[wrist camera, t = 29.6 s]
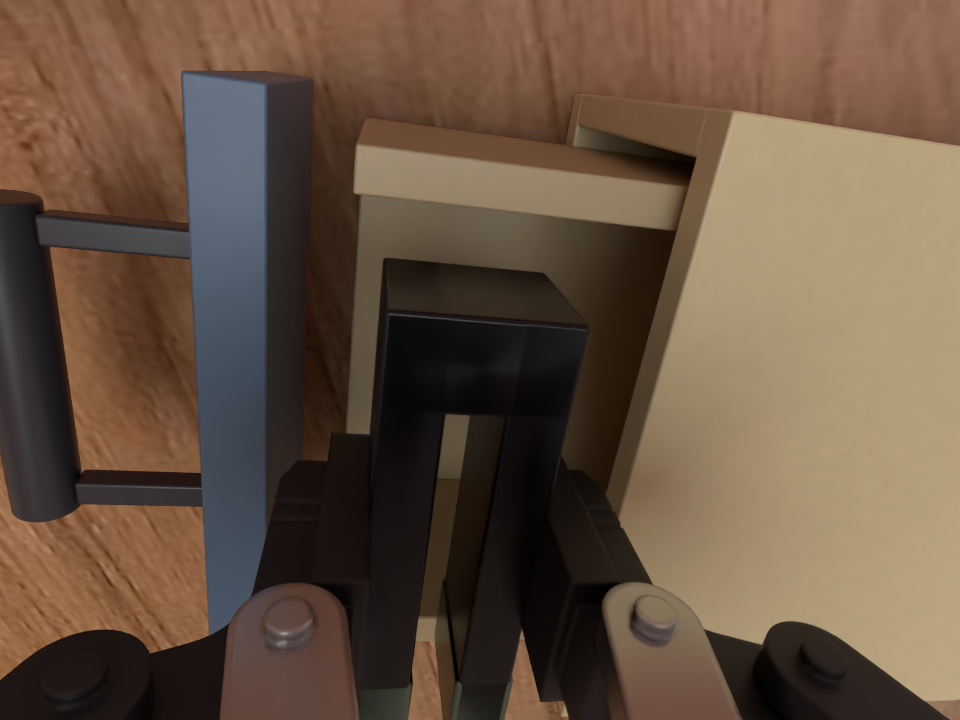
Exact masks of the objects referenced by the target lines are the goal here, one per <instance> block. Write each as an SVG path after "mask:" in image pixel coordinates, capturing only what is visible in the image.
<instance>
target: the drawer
mask: <svg viewBox="0 0 960 720" xmlns="http://www.w3.org/2000/svg"><path fill="white" fill-rule="evenodd" d="M181 83H182V103H183V122H184V142H185V162H186V182H187V202H188V222H189V224H188V223H179V222H169V221H159V220H149V219H139V218H130V217H120V216H110V215H100V214H90V213H80V212H71V211H61V210H51V209H50V210H47V211H44V204H43V200H42V198H41V197H40V196H38V195H36V194H32V193H28V192H23V191H16V190H4V189H0V457H1V462H2V467H3V472H4V477H5V481H6V486H7V491H8V496H9V501H10V506H11V511H12V513H13V515H14V516H15V517H17V518H18V519H20V520H23V521H27V522H45V521H51V520H55V519H58V518H61V517H64V516H66V515H68V514H70V513H72V512H73V511H75V510H76V509H77V508H78V507H79V506H80V505H81V504H100V505H147V506H194V507H203V521H204V541H205V561H206V581H207V601H208V621H209V635H211V634H213V633H215V632H217V631H218V630H220V629H222V628H223V627H225V626H226V625H227V624H229V623H230V621H231V619H232V617H233V615H234V614H235V612H236V611H237V609H238V608H239V607H240V606H241V605H242V604H243V603H244V602H245V601H246V600H248V599H249V598H250V597H251V594H252V591H253V588H254V583H255V579H256V575H257V571H258V567H259V563H260V559H261V555H262V551H263V547H264V543H265V538H266V534H267V530H268V526H269V522H270V520H271V514H272V510H273V506H274V503H275V498H276V494H277V489H278V485H279V481H280V478H281V477H282V476H283V475H284V474H285V473H286V472H287V470H288V469H289V468H290V467H291V466H292V465H293V464H294V463H295V462H296V461H297V460H302V452H303V416H304V381H305V346H306V311H307V275H308V240H309V205H310V170H311V134H312V99H313V79H312V78H307V77H301V76H294V75H287V74H281V73H274V72H267V71H182V73H181ZM694 166H695V163H690V162H683V161H676V160H669V159H662V158H654V157H647V156H640V155H633V154H626V153H619V152H611V151H604V150H597V149H590V148H583V147H575V146H568V145H561V144H554V143H547V142H540V141H532V140H525V139H518V138H511V137H504V136H496V135H489V134H482V133H475V132H468V131H461V130H453V129H446V128H439V127H432V126H425V125H417V124H410V123H403V122H396V121H389V120H382V119H374V118H366V119H365V121H364V123H363V126H362V129H361V132H360V135H359V137H358V140H357V143H356V146H355V163H354V180H353V192H354V194H357V195H360V198H359V214H358V231H357V247H356V264H355V281H354V297H353V314H352V330H351V347H350V364H349V380H348V397H347V413H346V430H345V433H353V434H369V433H370V420H371V408H372V395H373V382H374V369H375V356H376V343H377V330H378V318H379V305H380V292H381V279H382V266H383V260H384V258H397V259H408V260H418V261H429V262H438V263H448V264H458V265H469V266H479V267H490V268H501V269H512V270H522V271H532V272H543V273H545V274H546V275H547V276H548V277H549V279H550V280H551V281H552V282H553V283H554V285H555V286H556V287H557V288H558V289H559V291H560V292H561V293H562V294H563V295H564V297H565V298H566V299H567V300H568V301H569V303H570V304H571V305H572V306H573V307H574V309H575V310H576V311H577V312H578V313H579V315H580V316H581V317H582V318H583V319H584V321H585V322H586V323H587V324H588V325H589V329H590V330H589V335H588V339H587V343H586V348H585V352H584V357H583V361H582V366H581V370H580V374H579V379H578V383H577V388H576V392H575V397H574V401H573V405H572V410H571V414H570V419H569V423H568V428H567V432H566V436H565V441H564V445H563V450H562V454H561V455H562V457H563V459H564V461H565V463H566V465H567V468H568V470H582V471H583V472H585V473H586V474H587V475H588V476H589V477H590V478H591V479H592V480H594V481H595V482H596V483H597V484H598V485H599V486H600V487H602V489H603V491H604V493H605V495H606V492H607V489H608V485H609V481H610V477H611V474H612V470H613V466H614V463H615V459H616V455H617V452H618V448H619V444H620V440H621V437H622V433H623V429H624V426H625V422H626V418H627V414H628V411H629V407H630V403H631V400H632V396H633V392H634V389H635V385H636V381H637V377H638V374H639V370H640V366H641V363H642V359H643V355H644V351H645V348H646V344H647V340H648V337H649V333H650V329H651V326H652V322H653V318H654V314H655V311H656V307H657V303H658V300H659V296H660V292H661V288H662V285H663V281H664V277H665V274H666V270H667V266H668V263H669V259H670V255H671V251H672V248H673V244H674V240H675V237H676V233H677V229H678V225H679V222H680V218H681V214H682V211H683V207H684V203H685V200H686V196H687V192H688V188H689V185H690V181H691V177H692V174H693V170H694ZM50 247H60V248H71V249H82V250H93V251H104V252H115V253H125V254H136V255H147V256H158V257H169V258H180V259H190V262H191V282H192V302H193V322H194V342H195V362H196V381H197V401H198V421H199V441H200V461H201V473H183V472H151V471H119V470H85V471H84V472H83V473H82V470H81V463H80V456H79V449H78V442H77V435H76V428H75V421H74V414H73V407H72V400H71V393H70V386H69V379H68V372H67V365H66V358H65V351H64V344H63V337H62V330H61V323H60V316H59V309H58V302H57V295H56V288H55V281H54V274H53V267H52V260H51V253H50ZM469 418H470V416H468V415H447V414H446V417H445V424H444V432H443V439H442V447H441V454H440V462H439V469H438V477H437V484H436V492H435V499H434V507H433V514H432V522H431V529H430V537H429V544H428V552H427V559H426V567H425V574H424V582H423V589H422V597H421V604H420V612H419V619H418V627H417V634H416V642H426V641H435V636H434V634H435V627H436V621H437V614H438V607H439V601H440V594H441V587H442V581H443V579H444V578H445V576H446V570H447V563H448V557H449V550H450V543H451V537H452V530H453V524H454V517H455V510H456V504H457V497H458V491H459V484H460V477H461V471H462V464H463V457H464V451H465V444H466V438H467V431H468V424H469ZM520 640H525V639H524V635H523V631H521V636H520Z"/></svg>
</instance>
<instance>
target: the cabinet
mask: <svg viewBox="0 0 960 720" xmlns="http://www.w3.org/2000/svg"><path fill="white" fill-rule="evenodd" d="M565 145H568V146H575V147H583V148H590V149H597V150H604V151H611V152H619V153H626V154H633V155H640V156H647V157H654V158H662V159H669V160H676V161H683V162H690V163H695V166H694V170H693V174H692V177H691V181H690V185H689V188H688V192H687V196H686V200H685V203H684V207H683V211H682V214H681V218H680V222H679V225H678V229H677V233H676V237H675V240H674V244H673V248H672V251H671V255H670V259H669V263H668V266H667V270H666V274H665V277H664V281H663V285H662V288H661V292H660V296H659V300H658V303H657V307H656V311H655V314H654V318H653V322H652V326H651V329H650V333H649V337H648V340H647V344H646V348H645V351H644V355H643V359H642V363H641V366H640V370H639V374H638V377H637V381H636V385H635V389H634V392H633V396H632V400H631V403H630V407H629V411H628V414H627V418H626V422H625V426H624V429H623V433H622V437H621V440H620V444H619V448H618V452H617V455H616V459H615V463H614V466H613V470H612V474H611V477H610V481H609V485H608V489H607V492H606V497H607V499H608V501H609V502H610V504H611V506H612V511H614V512H615V514H616V516H617V517H618V519H619V521H620V523H621V524H620V526H621V528H623V529H624V531H625V532H626V534H627V536H628V538H629V540H630V542H631V544H632V546H633V547H634V549H635V551H636V553H637V555H638V557H639V559H640V561H641V562H642V564H643V566H644V568H645V570H646V572H647V574H648V575H649V577H650V579H651V581H652V583H653V585H655V586H658V587H660V588H663V589H665V590H667V591H669V592H671V593H673V594H674V595H676V596H677V597H679V598H680V599H681V600H683V601H684V602H685V603H686V604H687V605H688V606H689V607H690V608H691V609H692V610H693V611H694V612H695V614H696V615H697V616H698V618H699V620H700V622H701V624H702V626H703V628H704V629H706V630H709V631H712V632H715V633H718V634H722V635H726V636H730V637H734V638H738V639H742V640H746V641H749V642H753V643H757V644H761V645H762V643H763V641H764V639H765V637H766V634H767V632H768V631H769V629H770V628H771V627H772V626H773V625H775V624H777V623H780V622H785V621H796V622H803V623H807V624H811V625H814V626H816V627H819V628H821V629H824V630H826V631H828V632H830V633H832V634H833V635H835V636H837V637H838V638H840V639H841V640H843V641H844V642H846V643H847V644H849V645H850V646H851V647H853V648H854V649H855V650H857V651H858V652H859V653H861V654H862V655H863V656H865V657H866V658H867V659H869V660H870V661H871V662H873V663H874V664H875V665H877V666H878V667H879V668H881V669H882V670H883V671H885V672H886V673H887V674H889V675H890V676H891V677H893V678H894V679H895V680H897V681H898V682H900V683H901V684H902V685H904V686H905V687H906V688H908V689H909V690H910V691H912V692H913V693H914V694H916V695H917V696H918V697H920V698H921V699H922V700H924V701H945V700H960V146H958V145H952V144H946V143H939V142H933V141H927V140H920V139H914V138H908V137H902V136H895V135H889V134H883V133H876V132H870V131H864V130H858V129H851V128H845V127H839V126H832V125H826V124H820V123H814V122H807V121H801V120H795V119H788V118H782V117H776V116H770V115H763V114H757V113H751V112H744V111H738V110H730V109H721V108H711V107H702V106H693V105H683V104H674V103H665V102H656V101H647V100H637V99H628V98H619V97H610V96H601V95H592V94H582V93H576V94H575V96H574V101H573V106H572V112H571V117H570V122H569V128H568V133H567V139H566V144H565ZM557 702H558V706H559V710H560V713H561V716H562V717H568V714H567V710H566V707H565V703H564V701H557Z"/></svg>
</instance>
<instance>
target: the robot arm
mask: <svg viewBox="0 0 960 720" xmlns="http://www.w3.org/2000/svg"><path fill="white" fill-rule="evenodd" d="M369 454H370V434H353V433H331V438H330V445H329V453H328V460H327V461H309V460H297V461H296V462H295V463H294V464H293V465H292V466H291V467H290V468H289V469H288V470H287V472H286V473H285V474H284V475H283V476H282V477H281V478H280V481H279V485H278V489H277V494H276V498H275V503H274V506H273V510H272V514H271V520H270V522H269V526H268V530H267V534H266V538H265V543H264V547H263V551H262V555H261V559H260V563H259V567H258V571H257V575H256V579H255V583H254V588H253V591H252V594H251V597H250V598H249V599H248V600H246V601H245V602H244V603H243V604H242V605H241V606H240V607H239V608H238V609H237V611H236V612H235V614H234V615H233V617H232V619H231V621H230V623H229V624H227V625H226V626H225V627H223V628H222V629H220V630H218V631H217V632H215V633H213V634H211V635H209V636H207V637H205V638H202V639H200V640H197V641H194V642H191V643H187V644H184V645H180V646H177V647H173V648H169V649H166V650H162V651H158V652H155V653H151V654H150V653H149V650H148V649H147V647H146V646H145V644H144V643H143V642H141V641H140V640H139V639H138V638H136V637H135V636H133V635H131V634H128V633H125V632H122V631H116V630H92V631H85V632H81V633H77V634H73V635H70V636H67V637H65V638H62V639H59V640H57V641H55V642H53V643H51V644H49V645H47V646H45V647H43V648H42V649H40V650H38V651H37V652H35V653H34V654H32V655H31V656H30V657H28V658H27V659H26V660H24V661H23V662H22V663H21V664H19V665H18V666H17V667H16V668H15V669H13V670H12V671H11V672H10V673H8V674H7V675H6V676H5V677H4V678H2V679H1V680H0V720H359V713H358V709H359V704H360V693H361V681H362V670H363V659H364V647H365V636H366V625H367V614H368V602H369V591H370V569H371V513H372V512H370V511H369V510H368V500H369ZM620 524H621V523H620V521H619V519H618V517H617V516H616V514H615V512H614V511H612V506H611V504H610V502H609V501H608V499H607V497H606V495H605V493H604V491H603V489H602V487H600V486H599V485H598V484H597V483H596V482H595V481H594V480H592V479H591V478H590V477H589V476H588V475H587V474H586V473H585V472H583V471H582V470H568V468H567V465H566V463H565V461H564V459H563V457H562V455H561V459H560V463H559V467H558V472H557V476H556V481H555V485H554V490H553V494H552V498H551V503H550V507H549V512H548V514H547V515H546V518H545V522H544V527H543V531H542V535H541V540H540V544H539V549H538V553H537V558H536V562H535V567H534V571H533V576H532V580H531V584H530V589H529V593H528V598H527V602H526V607H525V611H524V616H523V620H522V625H521V627H522V631H523V635H524V639H525V643H526V647H527V651H528V655H529V659H530V663H531V667H532V671H533V674H534V678H535V682H536V686H537V690H538V694H539V698H540V702H552V701H564V703H565V707H566V710H567V714H568V717H569V719H568V720H949V719H948V718H946V717H945V716H944V715H942V714H941V713H940V712H938V711H937V710H936V709H934V708H933V707H932V706H930V705H929V704H928V703H926V702H925V701H924V700H922V699H921V698H920V697H918V696H917V695H916V694H914V693H913V692H912V691H910V690H909V689H908V688H906V687H905V686H904V685H902V684H901V683H900V682H898V681H897V680H895V679H894V678H893V677H891V676H890V675H889V674H887V673H886V672H885V671H883V670H882V669H881V668H879V667H878V666H877V665H875V664H874V663H873V662H871V661H870V660H869V659H867V658H866V657H865V656H863V655H862V654H861V653H859V652H858V651H857V650H855V649H854V648H853V647H851V646H850V645H849V644H847V643H846V642H844V641H843V640H841V639H840V638H838V637H837V636H835V635H833V634H832V633H830V632H828V631H826V630H824V629H821V628H819V627H816V626H814V625H811V624H807V623H803V622H796V621H785V622H780V623H777V624H775V625H773V626H772V627H771V628H770V629H769V631H768V632H767V634H766V637H765V639H764V641H763V643H762V645H761V644H757V643H753V642H749V641H746V640H742V639H738V638H734V637H730V636H726V635H722V634H718V633H715V632H712V631H709V630H706V629H704V628H703V626H702V624H701V622H700V620H699V618H698V616H697V615H696V614H695V612H694V611H693V610H692V609H691V608H690V607H689V606H688V605H687V604H686V603H685V602H684V601H683V600H681V599H680V598H679V597H677V596H676V595H674V594H673V593H671V592H669V591H667V590H665V589H663V588H660V587H658V586H655V585H653V583H652V581H651V579H650V577H649V575H648V574H647V572H646V570H645V568H644V566H643V564H642V562H641V561H640V559H639V557H638V555H637V553H636V551H635V549H634V547H633V546H632V544H631V542H630V540H629V538H628V536H627V534H626V532H625V531H624V529H623V528H621V526H620Z"/></svg>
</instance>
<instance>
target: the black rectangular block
mask: <svg viewBox="0 0 960 720" xmlns="http://www.w3.org/2000/svg"><path fill="white" fill-rule="evenodd" d="M589 330H590V329H589V325H588V324H587V323H586V322H585V321H584V319H583V318H582V317H581V316H580V315H579V313H578V312H577V311H576V310H575V309H574V307H573V306H572V305H571V304H570V303H569V301H568V300H567V299H566V298H565V297H564V295H563V294H562V293H561V292H560V291H559V289H558V288H557V287H556V286H555V285H554V283H553V282H552V281H551V280H550V279H549V277H548V276H547V275H546V274H545V273H543V272H532V271H522V270H512V269H501V268H490V267H479V266H469V265H458V264H448V263H438V262H429V261H418V260H408V259H397V258H384V260H383V266H382V279H381V292H380V305H379V318H378V330H377V343H376V356H375V369H374V382H373V395H372V408H371V420H370V433H369V434H370V454H369V500H368V510H369V511H370V512H372V513H371V569H370V591H369V602H368V614H367V625H366V636H365V647H364V659H363V670H362V681H361V693H360V704H359V709H358V713H359V720H408V715H409V707H410V700H411V693H412V685H413V679H412V664H413V657H414V649H415V642H416V634H417V627H418V619H419V612H420V604H421V597H422V589H423V582H424V574H425V567H426V559H427V552H428V544H429V537H430V529H431V522H432V514H433V507H434V499H435V492H436V484H437V477H438V469H439V462H440V454H441V447H442V439H443V432H444V424H445V417H446V414H447V415H468V416H470V418H469V424H468V431H467V438H466V444H465V451H464V457H463V464H462V471H461V477H460V484H459V491H458V497H457V504H456V510H455V517H454V524H453V530H452V537H451V543H450V550H449V557H448V563H447V570H446V576H445V578H444V579H443V581H442V587H441V594H440V601H439V607H438V614H437V621H436V627H435V634H434V636H435V646H436V656H437V666H438V676H439V686H440V696H441V706H442V716H443V720H504V718H505V714H506V709H507V705H508V700H509V696H510V692H511V687H512V683H513V677H512V671H513V667H514V662H515V658H516V654H517V649H518V645H519V640H520V636H521V631H522V627H521V625H522V620H523V616H524V611H525V607H526V602H527V598H528V593H529V589H530V584H531V580H532V576H533V571H534V567H535V562H536V558H537V553H538V549H539V544H540V540H541V535H542V531H543V527H544V522H545V518H546V515H547V514H548V512H549V507H550V503H551V498H552V494H553V490H554V485H555V481H556V476H557V472H558V467H559V463H560V459H561V454H562V450H563V445H564V441H565V436H566V432H567V428H568V423H569V419H570V414H571V410H572V405H573V401H574V397H575V392H576V388H577V383H578V379H579V374H580V370H581V366H582V361H583V357H584V352H585V348H586V343H587V339H588V335H589Z"/></svg>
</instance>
